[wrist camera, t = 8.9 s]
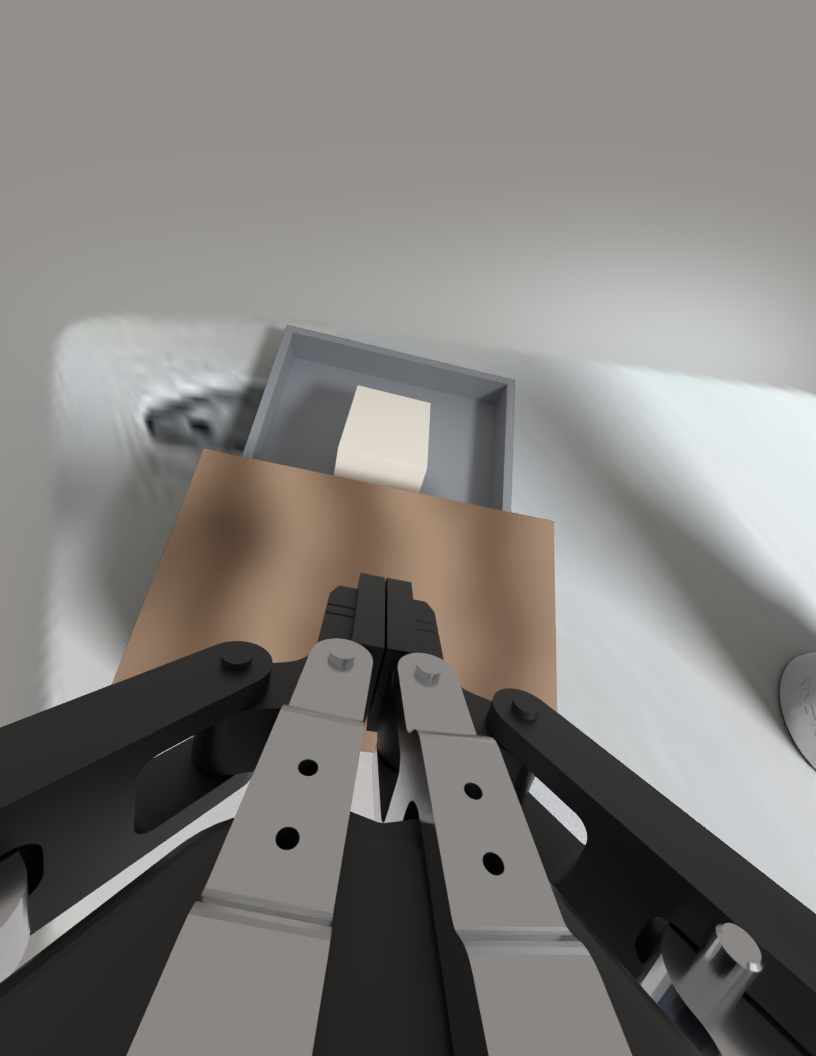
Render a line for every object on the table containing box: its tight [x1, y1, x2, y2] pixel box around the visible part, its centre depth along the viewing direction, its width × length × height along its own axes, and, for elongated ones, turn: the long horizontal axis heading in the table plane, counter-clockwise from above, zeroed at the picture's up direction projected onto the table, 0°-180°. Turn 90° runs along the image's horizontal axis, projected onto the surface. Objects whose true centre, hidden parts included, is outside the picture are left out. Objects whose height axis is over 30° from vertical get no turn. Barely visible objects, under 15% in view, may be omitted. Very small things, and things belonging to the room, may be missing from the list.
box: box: [242, 325, 515, 512], centre depth 33 cm, size 18×15×3 cm
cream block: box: [334, 385, 431, 493], centre depth 29 cm, size 5×5×8 cm
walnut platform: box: [112, 449, 557, 753], centre depth 24 cm, size 18×12×9 cm, turn 83°
